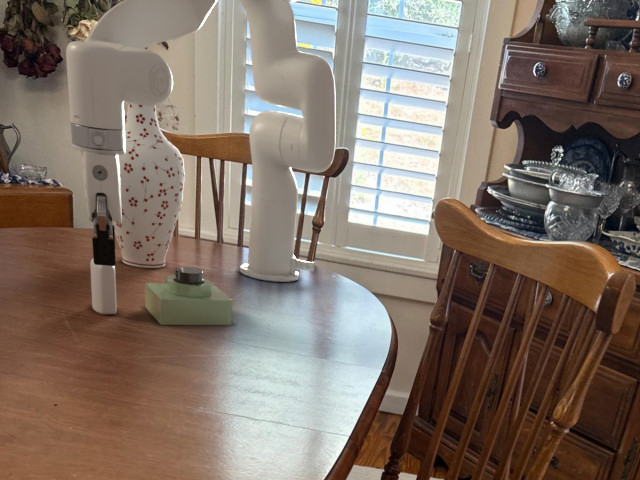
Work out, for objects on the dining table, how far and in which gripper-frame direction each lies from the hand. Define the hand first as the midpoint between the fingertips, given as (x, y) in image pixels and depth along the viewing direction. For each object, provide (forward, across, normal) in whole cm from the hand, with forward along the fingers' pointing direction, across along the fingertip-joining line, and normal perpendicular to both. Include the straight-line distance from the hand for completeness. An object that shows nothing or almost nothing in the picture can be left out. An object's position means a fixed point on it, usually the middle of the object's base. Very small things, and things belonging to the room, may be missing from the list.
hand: (104, 257), depth 124 cm
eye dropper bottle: (+9, 0, 0) cm, 9 cm away
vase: (+10, +36, -7) cm, 38 cm away
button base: (+9, -1, -13) cm, 16 cm away
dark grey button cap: (+3, 0, -13) cm, 13 cm away
